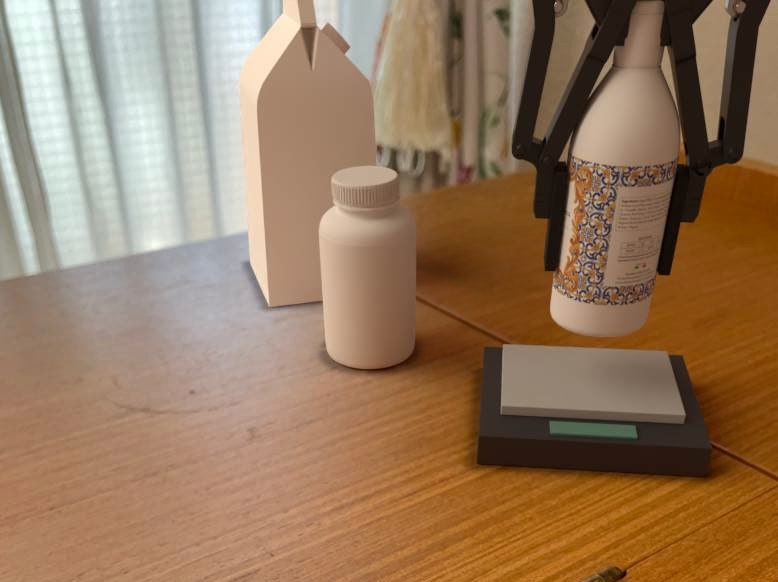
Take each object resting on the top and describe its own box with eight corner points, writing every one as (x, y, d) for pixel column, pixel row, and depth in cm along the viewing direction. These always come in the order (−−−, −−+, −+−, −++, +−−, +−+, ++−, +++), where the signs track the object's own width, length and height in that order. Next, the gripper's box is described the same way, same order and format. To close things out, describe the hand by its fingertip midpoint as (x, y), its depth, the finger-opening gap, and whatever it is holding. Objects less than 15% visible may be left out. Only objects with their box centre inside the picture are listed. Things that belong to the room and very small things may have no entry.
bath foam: (545, 298, 66) (580, -10, 54) (638, 300, 66) (695, -11, 53) (552, 339, 61) (593, 6, 48) (653, 341, 60) (721, 5, 48)
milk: (250, 263, 94) (219, -23, 77) (353, 251, 96) (344, -29, 80) (269, 307, 85) (239, -6, 68) (383, 292, 87) (380, -14, 71)
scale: (676, 381, 72) (685, 345, 70) (705, 477, 61) (715, 438, 59) (482, 372, 74) (485, 337, 72) (476, 463, 63) (479, 425, 61)
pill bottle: (307, 357, 76) (294, 180, 67) (358, 324, 81) (354, 154, 72) (382, 380, 73) (380, 196, 63) (431, 344, 78) (436, 168, 68)
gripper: (481, -151, 45) (459, 281, 59) (891, -158, 42) (765, 293, 57) (485, -152, 50) (464, 242, 65) (846, -159, 48) (742, 251, 63)
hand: (605, 265), depth 61 cm, fingers closed on bath foam, 7 cm apart
